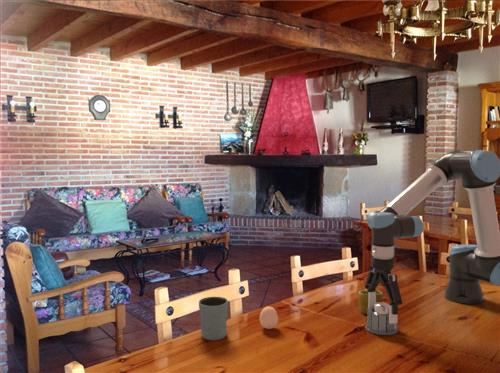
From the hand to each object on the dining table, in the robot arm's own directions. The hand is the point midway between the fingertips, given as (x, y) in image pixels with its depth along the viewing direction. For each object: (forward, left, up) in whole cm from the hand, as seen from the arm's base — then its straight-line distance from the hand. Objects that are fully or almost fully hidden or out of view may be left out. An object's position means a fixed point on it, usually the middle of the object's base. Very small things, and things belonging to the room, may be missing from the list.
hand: (382, 316), depth 159 cm
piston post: (0, 0, -5) cm, 5 cm away
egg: (+38, -12, -5) cm, 40 cm away
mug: (-6, -18, -5) cm, 20 cm away
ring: (0, 0, -4) cm, 4 cm away
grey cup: (+58, -12, -5) cm, 60 cm away
